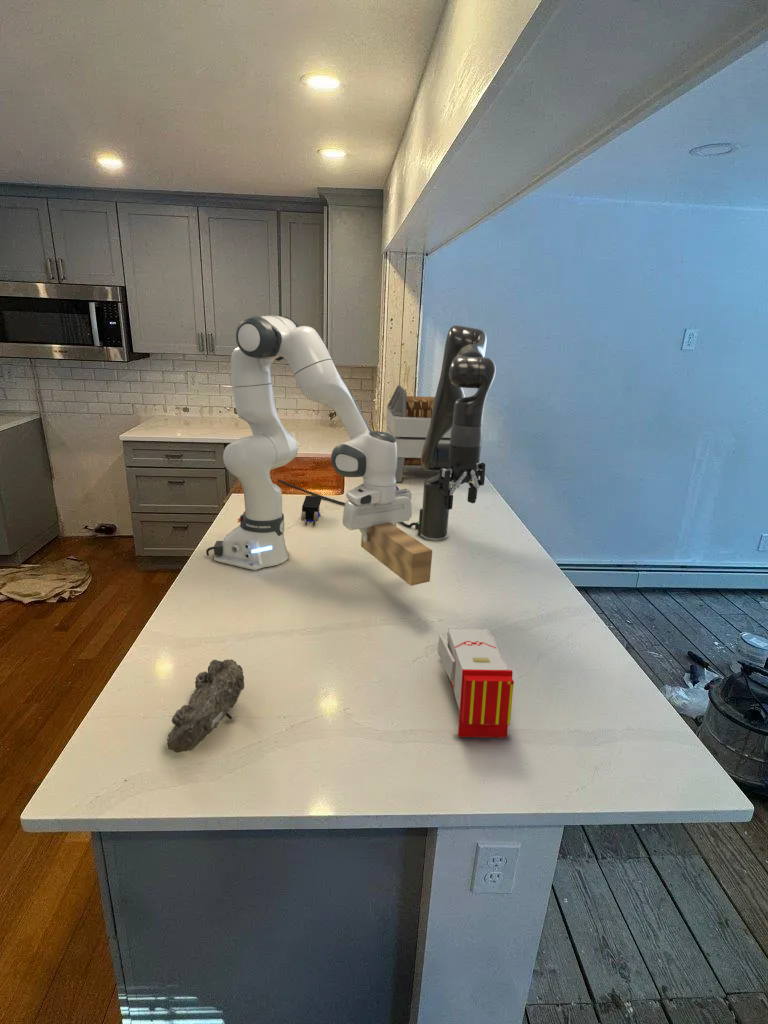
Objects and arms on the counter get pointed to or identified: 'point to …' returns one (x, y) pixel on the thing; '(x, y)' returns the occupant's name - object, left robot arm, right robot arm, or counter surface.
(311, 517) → the figurine character
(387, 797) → the counter surface
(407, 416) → the grey wooden crate
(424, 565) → the bar
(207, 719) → the fossil
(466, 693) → the toy
